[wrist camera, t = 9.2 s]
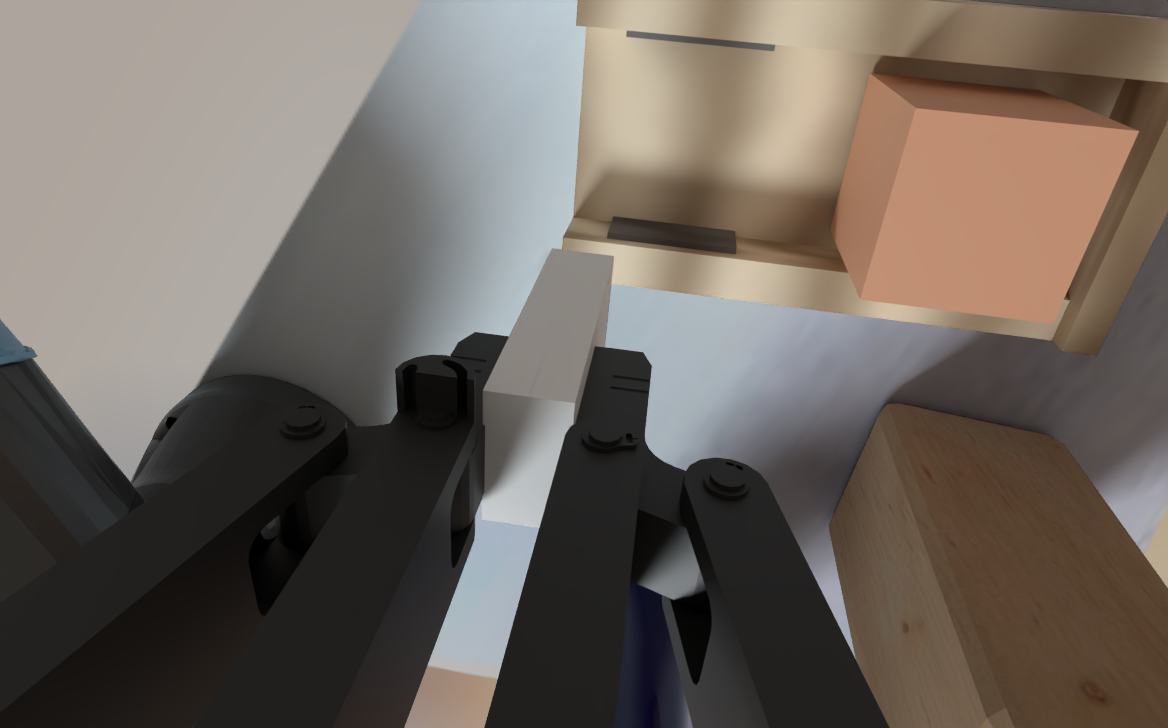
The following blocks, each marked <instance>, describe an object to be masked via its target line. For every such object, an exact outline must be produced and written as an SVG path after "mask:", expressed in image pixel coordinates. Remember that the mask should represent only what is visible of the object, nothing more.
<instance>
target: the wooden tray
mask: <svg viewBox="0 0 1168 728" xmlns="http://www.w3.org/2000/svg"><path fill="white" fill-rule="evenodd" d="M576 26H586V41H585V55H584V70H583V84H582V99H581V113H580V128H579V143H578V157H577V172H576V186H575V201H574V215H573V219H572V221H571V223H570V225H569V227H568V229H567V231H566V233H565V235H564V237H563V245H562V250H569V251H577V252H586V253H594V254H602V255H610V256H614V264H613V273H612V283H611V284H617V285H625V286H632V287H640V288H648V289H656V290H663V291H671V292H679V293H687V294H694V295H702V296H710V297H718V298H725V299H733V300H741V301H749V302H756V303H764V304H772V305H780V306H787V307H795V308H803V309H811V310H818V311H826V312H834V313H842V314H849V315H857V316H865V317H873V318H880V319H888V320H896V321H904V322H911V323H919V324H927V325H935V326H942V327H950V328H958V329H966V330H973V331H981V332H989V333H997V334H1004V335H1012V336H1020V337H1028V338H1035V339H1043V340H1051V341H1052V342H1053V343H1054V344H1055V345H1056V346H1057V347H1058V348H1059V350H1060V351H1064V352H1072V353H1079V354H1087V355H1095V356H1097V354H1098V352H1099V350H1100V348H1101V346H1102V344H1103V342H1104V340H1105V338H1106V336H1107V334H1108V332H1109V330H1110V328H1111V326H1112V324H1113V322H1114V320H1115V318H1116V316H1117V314H1118V312H1119V310H1120V308H1121V306H1122V304H1123V302H1124V300H1125V298H1126V296H1127V294H1128V292H1129V290H1130V288H1131V286H1132V284H1133V282H1134V280H1135V278H1136V275H1137V273H1138V271H1139V269H1140V267H1141V265H1142V263H1143V261H1144V259H1145V257H1146V255H1147V253H1148V251H1149V249H1150V247H1151V245H1152V243H1153V241H1154V239H1155V237H1156V235H1157V233H1158V231H1159V229H1160V227H1161V225H1162V223H1163V221H1164V219H1165V217H1166V215H1167V213H1168V18H1160V17H1149V16H1138V15H1126V14H1115V13H1104V12H1092V11H1081V10H1070V9H1059V8H1047V7H1036V6H1025V5H1014V4H1002V3H991V2H980V1H969V0H578V4H577V20H576ZM870 73H873V74H883V75H893V76H903V77H913V78H923V79H934V80H944V81H954V82H964V83H974V84H984V85H994V86H1004V87H1015V88H1025V89H1035V90H1042V91H1045V92H1047V93H1049V94H1052V95H1054V96H1057V97H1059V98H1061V99H1064V100H1066V101H1069V102H1071V103H1073V104H1076V105H1078V106H1081V107H1083V108H1085V109H1088V110H1090V111H1092V112H1095V113H1097V114H1100V115H1102V116H1104V117H1107V118H1109V119H1112V120H1114V121H1116V122H1119V123H1121V124H1124V125H1126V126H1128V127H1131V128H1133V129H1135V130H1138V131H1139V133H1138V135H1137V137H1136V139H1135V142H1134V144H1133V146H1132V148H1131V151H1130V153H1129V155H1128V157H1127V159H1126V162H1125V164H1124V166H1123V168H1122V171H1121V173H1120V175H1119V177H1118V180H1117V182H1116V184H1115V186H1114V188H1113V191H1112V193H1111V195H1110V197H1109V200H1108V202H1107V204H1106V206H1105V209H1104V211H1103V213H1102V215H1101V217H1100V220H1099V222H1098V224H1097V226H1096V229H1095V231H1094V233H1093V235H1092V238H1091V240H1090V242H1089V244H1088V247H1087V249H1086V251H1085V253H1084V255H1083V258H1082V260H1081V262H1080V264H1079V267H1078V269H1077V271H1076V273H1075V276H1074V278H1073V280H1072V282H1071V284H1070V287H1069V289H1068V291H1067V293H1066V296H1065V298H1064V300H1063V302H1062V305H1061V307H1060V309H1059V311H1058V313H1057V316H1056V318H1055V320H1054V322H1053V324H1048V323H1040V322H1032V321H1025V320H1017V319H1009V318H1001V317H993V316H985V315H977V314H969V313H962V312H954V311H946V310H938V309H930V308H922V307H914V306H907V305H899V304H891V303H883V302H875V301H867V300H860V298H859V296H858V294H857V291H856V289H855V287H854V284H853V282H852V280H851V278H850V275H849V273H848V271H847V268H846V266H845V264H844V261H843V259H842V257H841V254H840V252H839V250H838V248H837V245H836V243H835V241H834V238H833V236H832V234H831V231H830V228H831V224H832V220H833V216H834V212H835V208H836V204H837V200H838V196H839V193H840V189H841V185H842V181H843V177H844V173H845V169H846V165H847V161H848V157H849V153H850V150H851V146H852V142H853V138H854V134H855V130H856V126H857V122H858V118H859V114H860V110H861V106H862V103H863V99H864V95H865V91H866V87H867V83H868V79H869V75H870Z"/></svg>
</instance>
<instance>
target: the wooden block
mask: <svg viewBox="0 0 1168 728" xmlns="http://www.w3.org/2000/svg"><path fill="white" fill-rule="evenodd" d="M829 529H830V537H831V541H832V546H833V551H834V556H835V561H836V566H837V570H838V575H839V580H840V585H841V590H842V595H843V599H844V604H845V609H846V614H847V619H848V624H849V628H850V633H851V638H852V643H853V648H854V653H855V657H856V661H857V663H858V665H859V667H860V669H861V671H862V673H863V675H864V677H865V679H866V681H867V683H868V685H869V687H870V689H871V691H872V693H873V695H874V697H875V699H876V701H877V703H878V705H879V707H880V709H881V711H882V713H883V715H884V717H885V719H886V721H887V723H888V725H889V727H890V728H1168V588H1167V587H1166V585H1165V584H1164V582H1163V581H1162V580H1161V578H1160V577H1159V575H1158V574H1157V573H1156V571H1155V570H1154V568H1153V567H1152V566H1151V564H1150V563H1149V561H1148V560H1147V559H1146V557H1145V556H1144V555H1143V553H1142V552H1141V550H1140V549H1139V548H1138V546H1137V545H1136V543H1135V542H1134V541H1133V539H1132V538H1131V536H1130V535H1129V534H1128V532H1127V531H1126V529H1125V528H1124V527H1123V525H1122V524H1121V523H1120V521H1119V520H1118V518H1117V517H1116V516H1115V514H1114V513H1113V511H1112V510H1111V509H1110V507H1109V506H1108V504H1107V503H1106V502H1105V500H1104V499H1103V498H1102V496H1101V495H1100V493H1099V492H1098V491H1097V489H1096V488H1095V486H1094V485H1093V484H1092V482H1091V481H1090V479H1089V478H1088V477H1087V475H1086V474H1085V473H1084V471H1083V470H1082V468H1081V467H1080V466H1079V464H1078V463H1077V461H1076V460H1075V459H1074V457H1073V456H1072V454H1071V453H1070V452H1069V450H1068V449H1067V447H1066V446H1065V445H1064V444H1062V443H1061V442H1059V441H1058V440H1056V439H1055V438H1053V437H1051V436H1048V435H1046V434H1041V433H1036V432H1032V431H1027V430H1022V429H1018V428H1013V427H1008V426H1004V425H999V424H994V423H990V422H985V421H980V420H976V419H971V418H966V417H962V416H957V415H952V414H948V413H943V412H938V411H934V410H929V409H924V408H920V407H915V406H910V405H906V404H901V403H891V404H887V405H886V406H885V407H884V408H883V409H882V410H881V411H880V413H879V415H878V417H877V420H876V422H875V424H874V426H873V428H872V431H871V433H870V435H869V437H868V440H867V442H866V444H865V446H864V448H863V451H862V453H861V455H860V457H859V460H858V462H857V464H856V466H855V468H854V471H853V473H852V475H851V477H850V480H849V482H848V484H847V486H846V488H845V491H844V493H843V495H842V497H841V500H840V502H839V504H838V506H837V508H836V511H835V513H834V515H833V517H832V520H831V522H830V524H829Z"/></svg>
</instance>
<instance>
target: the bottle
mask: <svg viewBox="0 0 1168 728" xmlns="http://www.w3.org/2000/svg"><path fill="white" fill-rule="evenodd" d="M615 728H693V726H692V722H691V718H690V714H689V710H688V706H687V702H686V698H685V694H684V690H683V686H682V682H681V678H680V674H679V670H678V666H677V662H676V658H675V654H674V650H673V646H672V642H671V638H670V634H669V630H668V626H667V622H666V618H665V614H664V610H663V606H662V595H661V594H659V593H657V592H655V591H652V590H650V589H648V588H646V587H643V586H641V585H639V584H636V583H634V582H632V581H630V587H629V597H628V606H627V615H626V625H625V634H624V644H623V653H622V662H621V672H620V681H619V691H618V700H617V709H616V719H615Z"/></svg>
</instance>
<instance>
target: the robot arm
mask: <svg viewBox="0 0 1168 728" xmlns="http://www.w3.org/2000/svg"><path fill="white" fill-rule="evenodd" d="M613 264H614V256H610V255H602V254H594V253H586V252H577V251H569V250H561V249H553V248H552V250H551V252H550V254H549V256H548V258H547V260H546V262H545V264H544V266H543V268H542V270H541V272H540V274H539V276H538V278H537V280H536V282H535V284H534V287H533V289H532V291H531V293H530V295H529V297H528V299H527V301H526V303H525V305H524V307H523V309H522V311H521V313H520V315H519V317H518V319H517V321H516V323H515V326H514V328H513V330H512V332H511V334H510V336H509V337H508V336H501V335H493V334H485V333H478V332H475V333H473V334H471V335H470V336H468V337H466V338H465V339H463V340H461V341H460V342H458V344H457V346H456V347H455V349H454V351H453V352H452V354H451V356H447V355H428V356H421V357H416V358H413V359H411V360H408V361H406V362H403V363H402V364H401V365H400V366H399V367H398V368H396V369H395V374H396V391H397V407H398V412H397V414H396V415H395V417H394V418H393V420H392V421H391V423H389V424H385V425H378V426H367V427H355V426H354V425H353V424H352V423H351V422H350V421H349V420H348V419H347V418H346V417H345V416H344V415H343V413H342V412H341V411H340V410H338V409H336V408H334V407H332V406H331V405H330V404H328V403H327V402H325V401H323V400H322V399H320V398H319V397H317V396H315V395H313V394H312V393H310V392H308V391H306V390H303V389H301V388H299V387H297V386H294V385H291V384H289V383H286V382H282V381H279V380H275V379H271V378H266V377H259V376H247V375H241V376H228V377H223V378H219V379H215V380H212V381H209V382H207V383H205V384H203V385H201V386H199V387H198V388H196V389H195V390H193V391H192V392H191V393H190V394H188V395H187V396H186V397H185V398H184V399H183V400H181V401H180V402H179V403H178V404H177V405H176V406H174V407H173V408H172V410H170V411H169V412H168V413H167V415H166V416H165V417H164V418H163V419H162V421H161V423H160V424H159V426H158V427H157V429H156V431H155V433H154V435H153V438H152V440H151V442H150V444H149V446H148V448H147V449H146V451H145V453H144V455H143V458H142V459H141V462H140V464H139V466H138V468H137V470H136V472H135V474H134V476H133V478H132V480H131V482H130V481H129V480H128V479H127V477H126V476H125V475H124V474H123V472H122V471H121V470H120V469H119V467H118V466H117V465H116V464H115V463H114V461H113V460H112V459H111V458H110V456H109V455H108V454H107V453H106V451H105V450H104V449H103V448H102V447H101V445H100V444H99V443H98V442H97V440H96V439H95V438H94V437H93V436H92V434H91V433H90V432H89V430H88V429H87V428H86V426H85V425H84V424H83V423H82V421H81V420H80V419H79V417H78V416H77V415H76V414H75V412H74V411H73V410H72V408H71V407H70V406H69V405H68V403H67V402H66V401H65V399H64V398H63V397H62V395H61V394H60V393H59V392H58V390H57V389H56V388H55V387H54V385H53V384H52V383H51V382H50V380H49V379H48V377H47V376H46V375H45V374H44V372H43V371H42V370H41V369H40V367H39V366H38V365H37V364H36V362H35V361H34V359H33V358H34V357H37V355H36V353H35V351H34V350H33V349H32V348H30V347H27V346H23V345H22V344H21V342H20V341H19V340H18V339H17V338H16V337H15V336H14V335H13V333H12V332H11V331H10V330H9V329H8V328H7V327H6V326H5V324H4V323H3V322H2V321H1V320H0V728H404V726H405V724H406V721H407V718H408V716H409V713H410V710H411V708H412V705H413V702H414V699H415V697H416V694H417V691H418V689H419V686H420V684H421V681H422V678H423V676H424V673H425V670H426V668H427V665H428V662H429V659H430V657H431V654H432V651H433V649H434V646H435V643H436V641H437V638H438V635H439V633H440V630H441V627H442V625H443V622H444V619H445V617H446V614H447V611H448V609H449V606H450V603H451V601H452V598H453V595H454V593H455V590H456V587H457V584H458V582H459V579H460V576H461V574H462V571H463V568H464V566H465V563H466V560H467V558H468V555H469V552H470V550H471V547H472V544H473V542H474V536H475V515H476V512H477V510H478V507H479V504H480V502H481V499H482V519H483V520H489V521H496V522H503V523H509V524H516V525H523V526H529V527H536V528H539V531H538V535H537V539H536V542H535V546H534V550H533V553H532V557H531V560H530V564H529V568H528V571H527V575H526V579H525V582H524V586H523V589H522V593H521V597H520V600H519V604H518V608H517V611H516V615H515V619H514V622H513V626H512V629H511V633H510V637H509V640H508V644H507V648H506V651H505V655H504V659H503V662H502V666H501V669H500V673H499V677H498V680H497V684H496V688H495V692H494V695H493V698H492V702H491V706H490V709H489V713H488V717H487V720H486V724H485V728H615V719H616V709H617V700H618V691H619V681H620V672H621V662H622V653H623V644H624V634H625V625H626V615H627V606H628V597H629V587H630V581H632V582H634V583H636V584H639V585H641V586H643V587H646V588H648V589H650V590H652V591H655V592H657V593H659V594H661V595H662V606H663V610H664V614H665V618H666V622H667V626H668V630H669V634H670V638H671V642H672V646H673V650H674V654H675V658H676V662H677V666H678V670H679V674H680V678H681V682H682V686H683V690H684V694H685V698H686V702H687V706H688V710H689V714H690V718H691V722H692V726H693V728H890V727H889V725H888V723H887V721H886V719H885V717H884V715H883V713H882V711H881V709H880V707H879V705H878V703H877V701H876V699H875V697H874V695H873V693H872V691H871V689H870V687H869V685H868V683H867V681H866V679H865V677H864V675H863V673H862V671H861V669H860V667H859V665H858V663H857V661H856V659H855V657H854V655H853V653H852V651H851V649H850V647H849V645H848V643H847V641H846V639H845V637H844V635H843V633H842V631H841V629H840V627H839V625H838V623H837V621H836V619H835V617H834V615H833V613H832V611H831V609H830V607H829V605H828V603H827V601H826V599H825V597H824V595H823V593H822V591H821V589H820V587H819V585H818V583H817V581H816V579H815V577H814V575H813V573H812V571H811V569H810V567H809V565H808V563H807V561H806V559H805V557H804V555H803V553H802V551H801V549H800V547H799V545H798V543H797V541H796V539H795V537H794V535H793V533H792V531H791V529H790V527H789V525H788V523H787V521H786V519H785V517H784V515H783V513H782V511H781V509H780V507H779V505H778V503H777V501H776V499H775V497H774V495H773V493H772V491H771V489H770V487H769V485H768V484H767V482H766V481H765V480H764V479H763V477H762V476H761V475H760V474H759V473H758V472H757V471H755V470H754V469H752V468H750V467H749V466H747V465H745V464H742V463H740V462H737V461H734V460H731V459H722V458H709V459H702V460H699V461H697V462H695V463H693V464H691V465H690V466H689V468H688V469H687V470H686V471H684V470H681V469H679V468H676V467H674V466H672V465H669V464H667V463H665V462H663V461H662V460H660V459H659V458H658V457H656V456H655V455H654V454H653V453H652V452H651V451H650V450H649V448H648V446H647V444H646V442H645V426H646V416H647V407H648V397H649V387H650V378H651V368H652V366H651V364H650V363H649V361H648V360H647V358H646V356H645V355H644V353H643V352H636V351H628V350H621V349H613V348H606V347H605V340H606V331H607V321H608V312H609V302H610V292H611V283H612V273H613Z"/></svg>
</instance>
